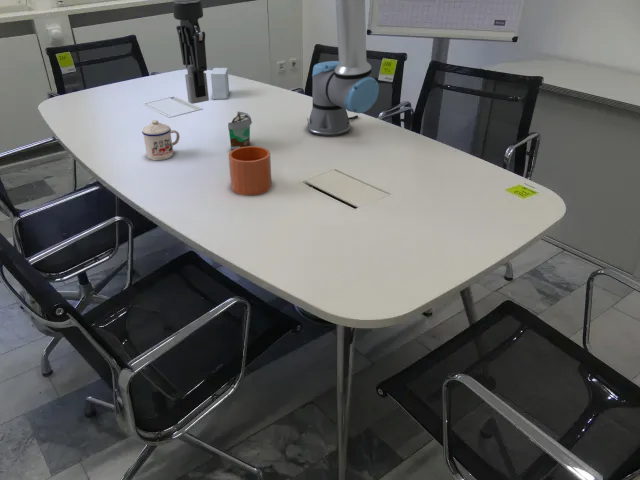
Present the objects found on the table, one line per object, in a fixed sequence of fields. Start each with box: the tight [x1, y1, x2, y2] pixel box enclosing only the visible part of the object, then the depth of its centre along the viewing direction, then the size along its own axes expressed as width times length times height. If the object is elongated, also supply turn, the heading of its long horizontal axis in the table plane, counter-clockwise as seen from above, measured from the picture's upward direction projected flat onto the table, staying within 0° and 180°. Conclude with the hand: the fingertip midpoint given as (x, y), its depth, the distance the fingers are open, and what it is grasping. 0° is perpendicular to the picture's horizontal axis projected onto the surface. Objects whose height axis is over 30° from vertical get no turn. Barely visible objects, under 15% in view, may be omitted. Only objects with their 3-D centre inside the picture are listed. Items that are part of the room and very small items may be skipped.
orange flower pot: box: [228, 145, 272, 196], centre depth 152 cm, size 12×12×10 cm
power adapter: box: [184, 56, 210, 105], centre depth 146 cm, size 3×5×12 cm, turn 121°
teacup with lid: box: [141, 119, 181, 161], centre depth 174 cm, size 12×9×12 cm
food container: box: [227, 111, 253, 152], centre depth 179 cm, size 12×6×10 cm, turn 168°
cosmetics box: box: [210, 67, 230, 100], centre depth 228 cm, size 10×6×10 cm, turn 179°
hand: (198, 94), depth 148 cm, fingers closed on power adapter, 3 cm apart
